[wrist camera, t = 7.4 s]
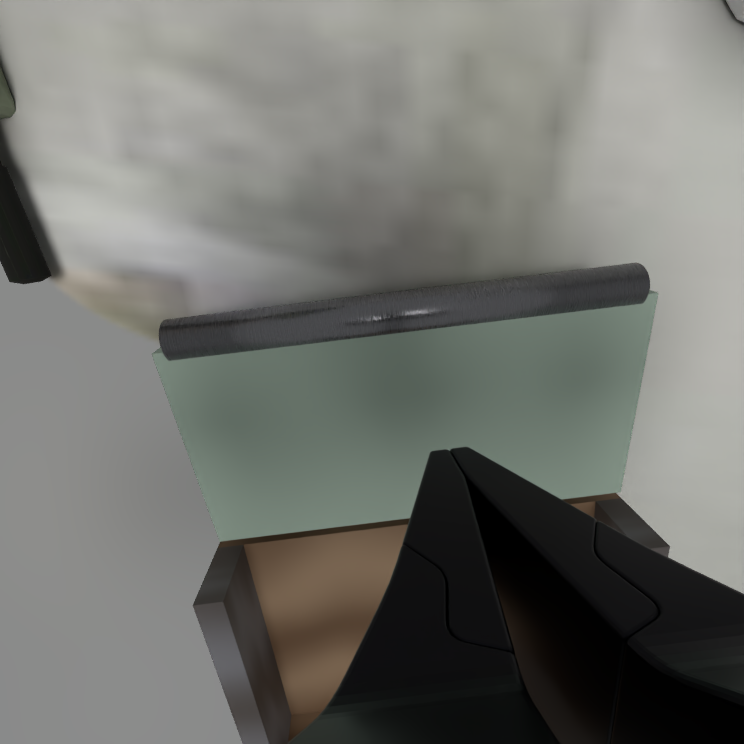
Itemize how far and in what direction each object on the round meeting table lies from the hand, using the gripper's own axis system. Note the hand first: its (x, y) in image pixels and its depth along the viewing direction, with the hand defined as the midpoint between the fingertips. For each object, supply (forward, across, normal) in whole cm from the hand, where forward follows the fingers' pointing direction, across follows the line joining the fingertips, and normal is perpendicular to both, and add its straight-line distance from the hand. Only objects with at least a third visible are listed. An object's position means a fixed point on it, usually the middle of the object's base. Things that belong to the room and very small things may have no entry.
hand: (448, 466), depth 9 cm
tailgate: (+7, 0, +7) cm, 10 cm away
